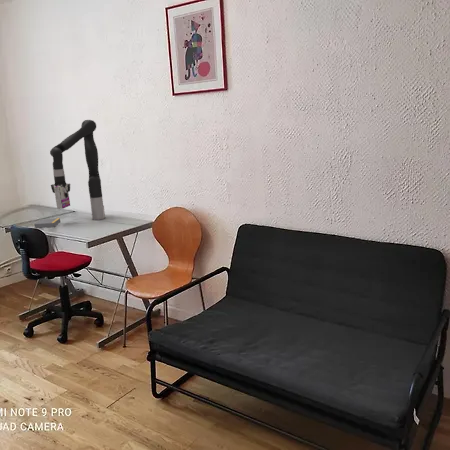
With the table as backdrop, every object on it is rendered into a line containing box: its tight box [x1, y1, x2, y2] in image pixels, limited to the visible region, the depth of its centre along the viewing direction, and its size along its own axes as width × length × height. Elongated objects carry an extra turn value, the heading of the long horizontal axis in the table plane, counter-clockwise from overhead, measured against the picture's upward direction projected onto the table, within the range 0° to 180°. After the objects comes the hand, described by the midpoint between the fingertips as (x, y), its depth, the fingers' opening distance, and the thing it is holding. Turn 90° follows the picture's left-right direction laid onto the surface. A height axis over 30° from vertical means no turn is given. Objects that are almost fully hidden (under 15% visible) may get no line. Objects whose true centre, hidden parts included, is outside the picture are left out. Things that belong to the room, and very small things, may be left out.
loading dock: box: [33, 217, 61, 229], centre depth 347 cm, size 14×16×3 cm
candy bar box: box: [54, 185, 71, 210], centre depth 343 cm, size 11×5×16 cm, turn 169°
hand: (62, 197), depth 343 cm, fingers closed on candy bar box, 5 cm apart
